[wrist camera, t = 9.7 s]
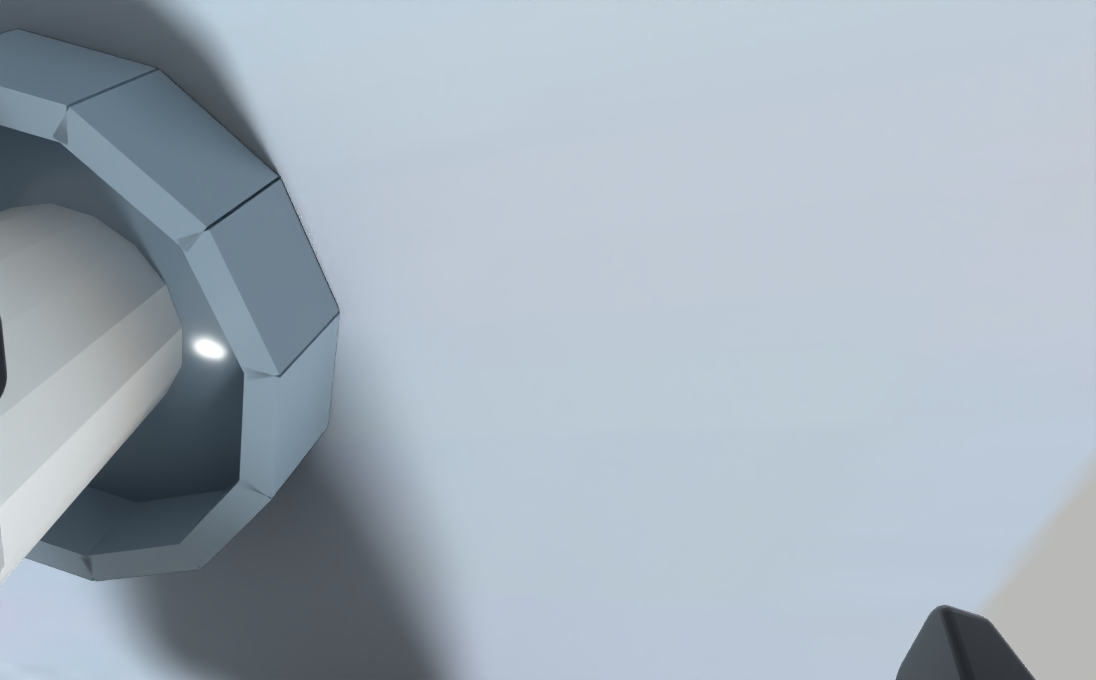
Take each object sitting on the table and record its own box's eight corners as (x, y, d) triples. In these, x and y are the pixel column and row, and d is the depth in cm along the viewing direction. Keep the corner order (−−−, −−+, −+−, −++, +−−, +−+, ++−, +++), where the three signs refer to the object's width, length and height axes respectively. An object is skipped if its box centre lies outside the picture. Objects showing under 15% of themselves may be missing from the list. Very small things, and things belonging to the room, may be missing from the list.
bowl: (314, 560, 27) (262, 639, 25) (-92, 424, 29) (-182, 487, 26) (358, 125, 21) (294, 171, 18) (-170, -24, 22) (-299, -1, 20)
